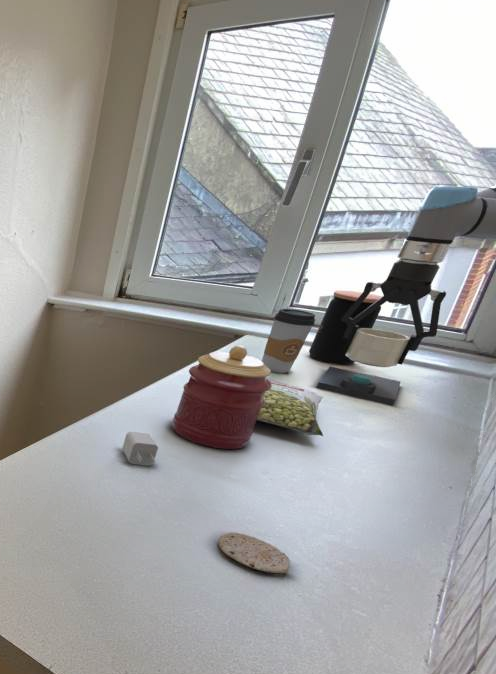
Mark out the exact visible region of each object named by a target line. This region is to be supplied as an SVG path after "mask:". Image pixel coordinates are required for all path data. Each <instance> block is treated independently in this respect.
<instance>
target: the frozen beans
mask: <svg viewBox="0 0 496 674" xmlns="http://www.w3.org/2000/svg"><path fill="white" fill-rule="evenodd" d="M269 381H270V383H271V385H272V387H271V388H270V389H269V390H268V391H266V392H265V394H264V398H263V399H264V401H265V404H264V406H263V407H262V408H261V411H260V413H259V416H258V418H257V421H259V422H263V423H267V424H270V425H274V426H277V427H282V428H286V429H289V430H292V431H295V432H299V433H302V434H305V435H308V436H309V435H310V436H321V437H324V434H323V432H322V430H321V428H320V426H319V423H318V421H317V412H318V411H317V410H318V409H319V404H320V403H321V402H322V399H324V396H322V395H319V394H317V393H315V392H312V391H309V390H308V389H303V388H300V387H297V386H296V387H295V386H292V385H289V384H285V383H281V382H277V381H271V380H269Z"/></svg>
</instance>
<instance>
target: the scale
mask: <svg viewBox="0 0 496 674" xmlns="http://www.w3.org/2000/svg"><path fill="white" fill-rule="evenodd" d="M354 374H362V375H366V376H369V377H371V380H370V382H369V385H364V384H358V383H355V382H352V381H351V380H352V377H353V375H354ZM400 386H401V381H400V380H395V379H390V378H386V377H381V376H377V375H371V374H367V373H362V372H357V371H353V370H348V369H344V368H339V367H334V366H328V368H327V369H326V371H325V372H324V374H323V375H322V377H321V378H320V379H319V381H318V382H317V384H316V388H317V389H320V390H325V391H330V392H334V393H338V394H342V395H345V396H351V397H355V398H358V399H359V398H360V399H362V400H363V399H364V400H368V401H372V402H376V403H381V404H385V405H389V406H394V404H395V402H396V399H397V397H398V393H399V389H400Z"/></svg>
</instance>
